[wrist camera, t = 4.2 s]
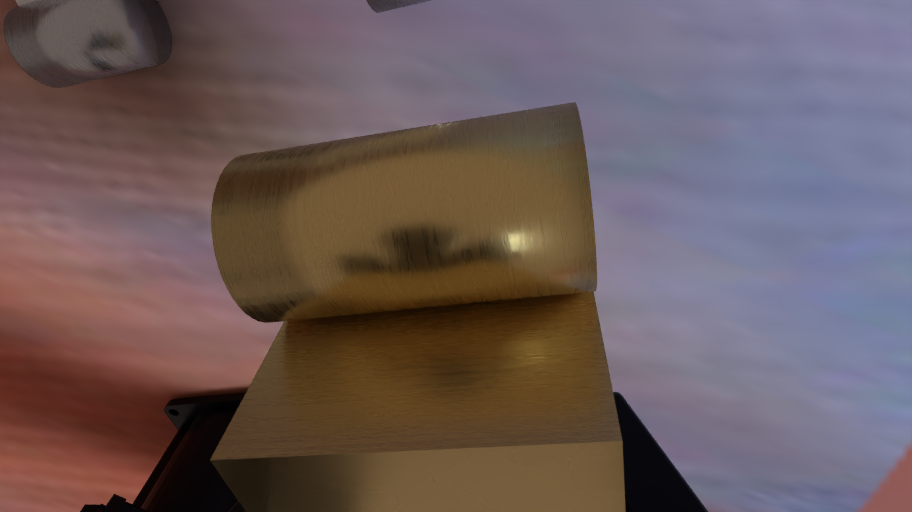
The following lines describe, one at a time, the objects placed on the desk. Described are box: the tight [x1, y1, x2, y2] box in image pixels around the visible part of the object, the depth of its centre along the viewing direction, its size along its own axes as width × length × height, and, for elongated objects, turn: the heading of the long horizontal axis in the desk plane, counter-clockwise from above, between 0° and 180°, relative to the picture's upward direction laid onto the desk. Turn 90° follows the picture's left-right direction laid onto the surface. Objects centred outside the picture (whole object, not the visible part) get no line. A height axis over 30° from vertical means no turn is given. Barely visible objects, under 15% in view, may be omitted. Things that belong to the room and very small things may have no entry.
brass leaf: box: [210, 102, 626, 512], centre depth 8 cm, size 4×8×4 cm, turn 11°
